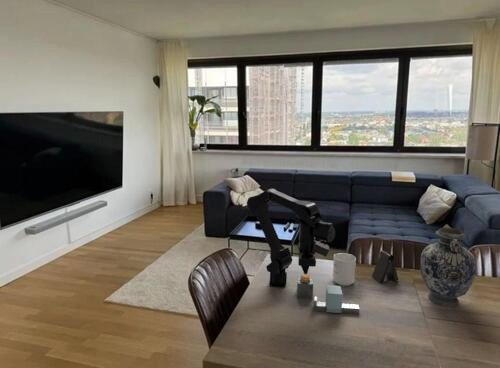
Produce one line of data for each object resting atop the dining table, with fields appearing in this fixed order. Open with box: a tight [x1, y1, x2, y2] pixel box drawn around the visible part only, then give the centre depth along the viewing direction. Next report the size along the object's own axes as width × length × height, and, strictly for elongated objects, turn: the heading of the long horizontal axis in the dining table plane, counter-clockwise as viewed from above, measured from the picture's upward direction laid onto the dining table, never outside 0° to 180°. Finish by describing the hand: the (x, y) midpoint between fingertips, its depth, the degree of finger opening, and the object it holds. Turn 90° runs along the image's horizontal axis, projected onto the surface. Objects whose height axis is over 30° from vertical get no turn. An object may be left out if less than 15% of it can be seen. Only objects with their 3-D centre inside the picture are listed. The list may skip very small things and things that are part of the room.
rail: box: [312, 296, 360, 315], centre depth 129 cm, size 16×3×4 cm, turn 83°
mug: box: [332, 252, 357, 287], centre depth 151 cm, size 12×9×11 cm
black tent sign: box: [371, 250, 399, 284], centre depth 153 cm, size 9×6×12 cm, turn 104°
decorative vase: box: [419, 224, 478, 308], centre depth 134 cm, size 21×19×28 cm
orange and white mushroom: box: [300, 274, 311, 283], centre depth 139 cm, size 4×4×7 cm
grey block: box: [325, 284, 344, 314], centre depth 128 cm, size 5×6×7 cm
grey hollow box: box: [296, 275, 314, 300], centre depth 139 cm, size 6×6×6 cm
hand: (305, 273), depth 138 cm, fingers closed
